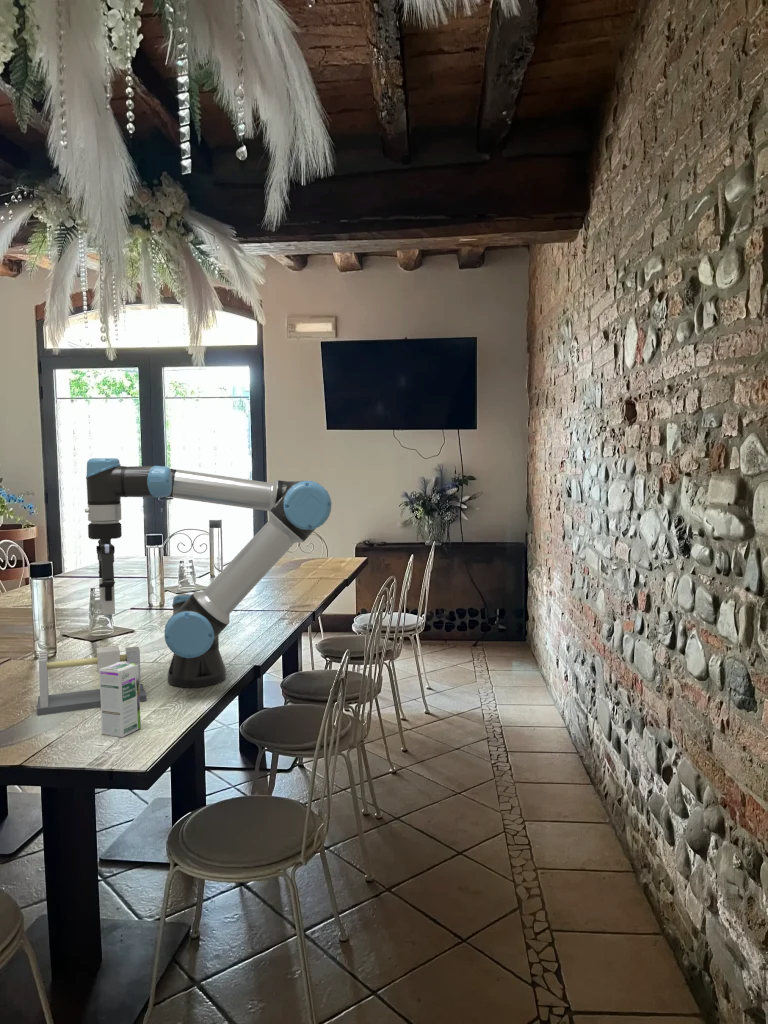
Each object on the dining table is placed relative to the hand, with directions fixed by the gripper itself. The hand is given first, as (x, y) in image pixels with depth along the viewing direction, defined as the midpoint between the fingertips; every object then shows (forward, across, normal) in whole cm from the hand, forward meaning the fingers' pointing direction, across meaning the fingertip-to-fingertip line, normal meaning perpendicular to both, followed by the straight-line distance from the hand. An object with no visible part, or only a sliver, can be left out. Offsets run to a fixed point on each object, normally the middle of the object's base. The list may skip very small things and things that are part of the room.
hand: (107, 609), depth 173 cm
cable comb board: (+22, 0, -4) cm, 23 cm away
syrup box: (+23, +24, +1) cm, 33 cm away
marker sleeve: (+15, 0, 0) cm, 15 cm away
